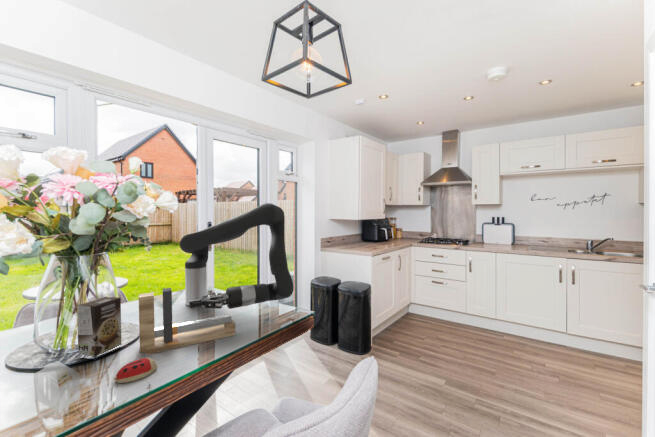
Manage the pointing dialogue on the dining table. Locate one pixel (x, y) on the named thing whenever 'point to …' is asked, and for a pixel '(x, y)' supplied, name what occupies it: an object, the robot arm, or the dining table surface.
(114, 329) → the coffee box
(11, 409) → the dining table surface
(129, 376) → the ladybug figurine
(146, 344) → the wooden track with post
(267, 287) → the robot arm
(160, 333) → the silver metal bar
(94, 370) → the dining table surface
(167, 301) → the dark gray slab
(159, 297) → the dining table surface
